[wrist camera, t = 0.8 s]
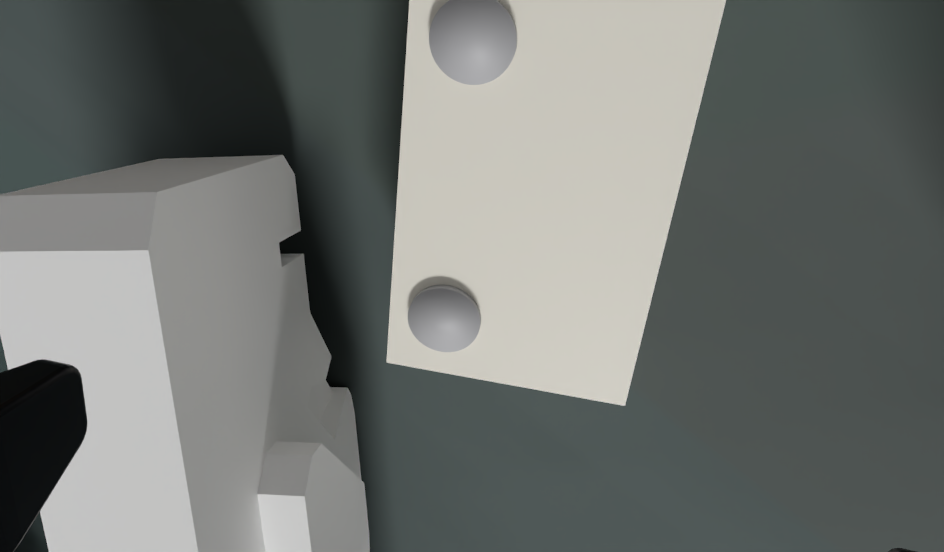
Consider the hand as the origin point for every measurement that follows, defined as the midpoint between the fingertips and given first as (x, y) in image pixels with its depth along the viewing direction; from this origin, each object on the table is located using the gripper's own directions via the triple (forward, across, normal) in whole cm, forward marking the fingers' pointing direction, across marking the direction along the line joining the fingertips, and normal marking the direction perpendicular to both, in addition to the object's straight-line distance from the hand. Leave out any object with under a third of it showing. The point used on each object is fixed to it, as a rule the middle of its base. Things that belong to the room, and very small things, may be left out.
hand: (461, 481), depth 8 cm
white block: (+12, 0, 0) cm, 12 cm away
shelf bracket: (+12, +5, +13) cm, 19 cm away
